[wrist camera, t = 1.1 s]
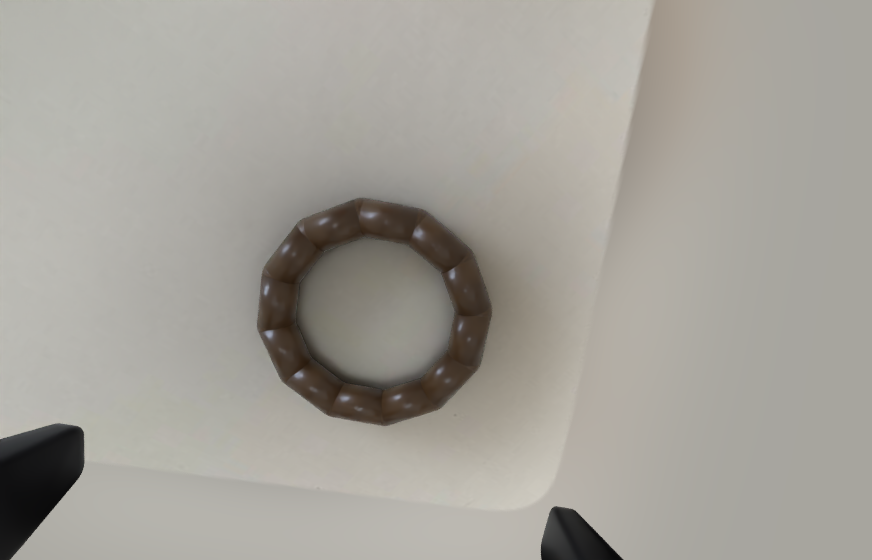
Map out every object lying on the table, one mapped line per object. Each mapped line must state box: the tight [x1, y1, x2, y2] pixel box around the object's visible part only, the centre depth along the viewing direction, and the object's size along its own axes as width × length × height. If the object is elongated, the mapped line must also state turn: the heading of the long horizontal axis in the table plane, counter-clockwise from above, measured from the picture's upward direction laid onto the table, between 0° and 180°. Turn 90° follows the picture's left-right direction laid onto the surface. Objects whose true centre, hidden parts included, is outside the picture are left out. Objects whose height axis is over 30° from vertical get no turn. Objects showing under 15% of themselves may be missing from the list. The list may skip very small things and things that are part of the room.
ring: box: [257, 198, 492, 426], centre depth 19 cm, size 10×10×2 cm
